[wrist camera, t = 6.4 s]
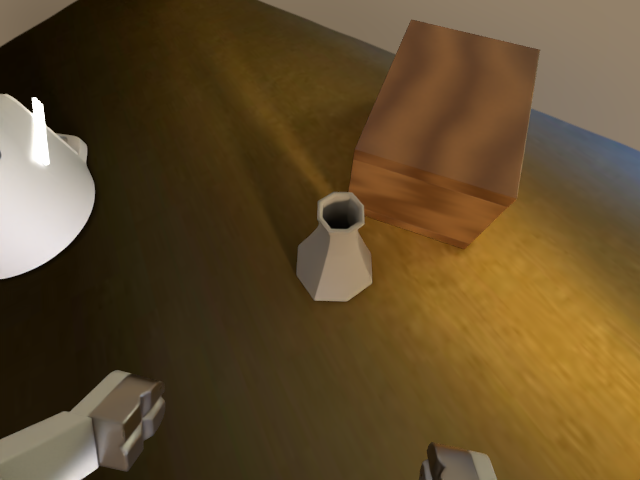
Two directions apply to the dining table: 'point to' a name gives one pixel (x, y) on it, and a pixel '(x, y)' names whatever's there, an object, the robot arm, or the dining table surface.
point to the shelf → (446, 134)
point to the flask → (335, 251)
